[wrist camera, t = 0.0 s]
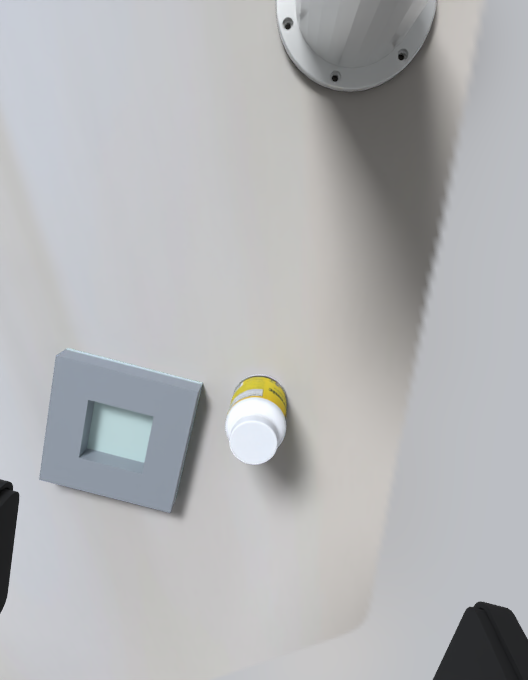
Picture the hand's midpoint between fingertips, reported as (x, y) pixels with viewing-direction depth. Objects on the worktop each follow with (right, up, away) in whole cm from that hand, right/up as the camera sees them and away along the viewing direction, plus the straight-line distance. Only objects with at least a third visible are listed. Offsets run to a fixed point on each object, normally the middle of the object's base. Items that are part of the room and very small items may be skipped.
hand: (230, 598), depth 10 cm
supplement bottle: (0, -1, +39) cm, 39 cm away
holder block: (-14, -4, +40) cm, 43 cm away
